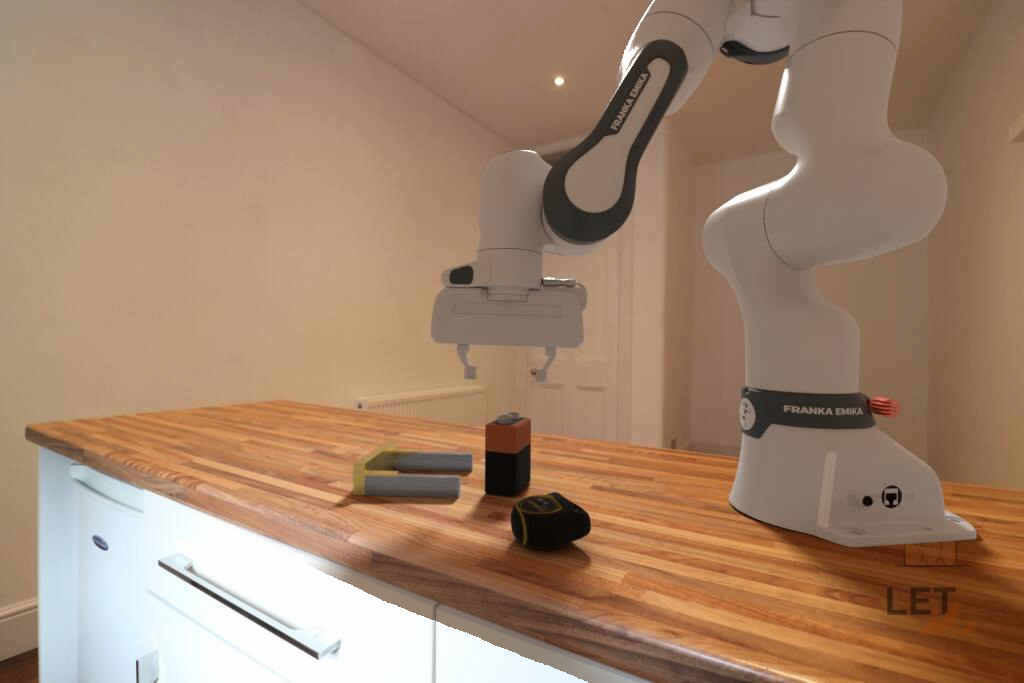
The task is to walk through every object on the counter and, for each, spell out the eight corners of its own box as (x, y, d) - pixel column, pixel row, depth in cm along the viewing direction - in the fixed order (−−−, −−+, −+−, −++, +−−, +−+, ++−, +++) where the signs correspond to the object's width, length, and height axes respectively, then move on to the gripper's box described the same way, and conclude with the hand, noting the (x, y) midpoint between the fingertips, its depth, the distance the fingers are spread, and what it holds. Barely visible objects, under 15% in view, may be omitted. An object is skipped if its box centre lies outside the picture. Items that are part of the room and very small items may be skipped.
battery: (483, 494, 57) (483, 417, 57) (502, 479, 64) (503, 409, 64) (515, 499, 56) (516, 419, 56) (531, 482, 62) (532, 411, 62)
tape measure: (596, 546, 41) (592, 505, 41) (527, 565, 39) (522, 522, 39) (565, 521, 48) (561, 486, 48) (504, 536, 46) (500, 499, 46)
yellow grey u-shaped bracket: (472, 469, 68) (473, 443, 68) (458, 498, 56) (458, 466, 56) (386, 466, 69) (386, 441, 69) (353, 494, 57) (353, 463, 57)
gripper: (585, 282, 62) (581, 381, 62) (440, 278, 64) (436, 375, 64) (590, 275, 56) (586, 385, 56) (429, 271, 57) (425, 379, 57)
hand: (505, 380), depth 60 cm, fingers open, 8 cm apart
